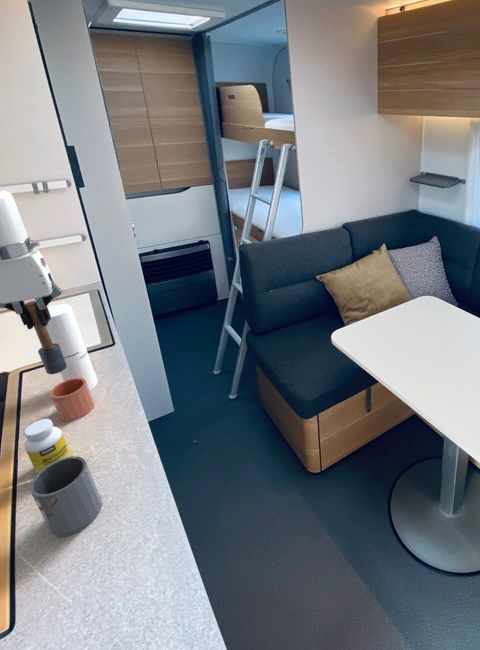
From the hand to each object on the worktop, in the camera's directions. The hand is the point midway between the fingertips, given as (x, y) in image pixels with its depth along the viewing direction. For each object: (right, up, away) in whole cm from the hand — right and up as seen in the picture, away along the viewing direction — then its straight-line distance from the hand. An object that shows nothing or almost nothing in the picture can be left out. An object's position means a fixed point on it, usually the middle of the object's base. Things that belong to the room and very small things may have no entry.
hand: (38, 324), depth 93 cm
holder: (-2, -25, +14) cm, 29 cm away
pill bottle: (+5, -32, -1) cm, 32 cm away
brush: (0, -12, +5) cm, 13 cm away
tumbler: (+17, -36, -12) cm, 42 cm away
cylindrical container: (-7, -22, +24) cm, 33 cm away
